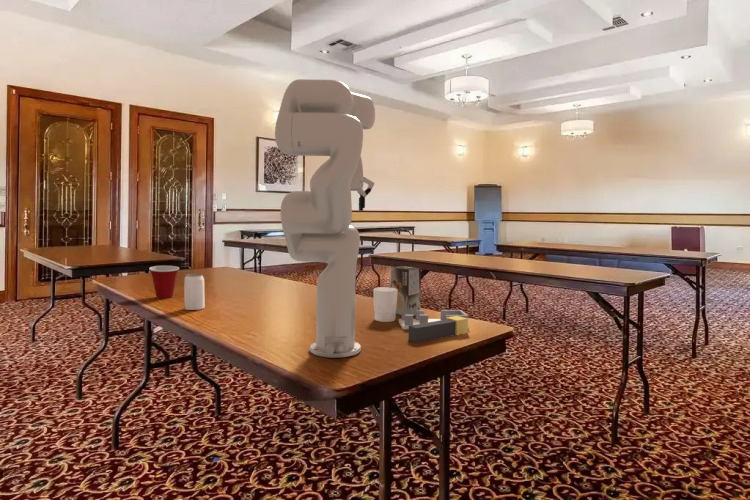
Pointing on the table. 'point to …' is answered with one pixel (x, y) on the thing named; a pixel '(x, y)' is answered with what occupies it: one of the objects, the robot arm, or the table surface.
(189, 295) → the can
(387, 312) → the white cup
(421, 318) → the clip rail
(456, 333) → the gray box yellow end
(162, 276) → the plastic cup
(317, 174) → the robot arm
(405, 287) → the coffee box
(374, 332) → the table surface
